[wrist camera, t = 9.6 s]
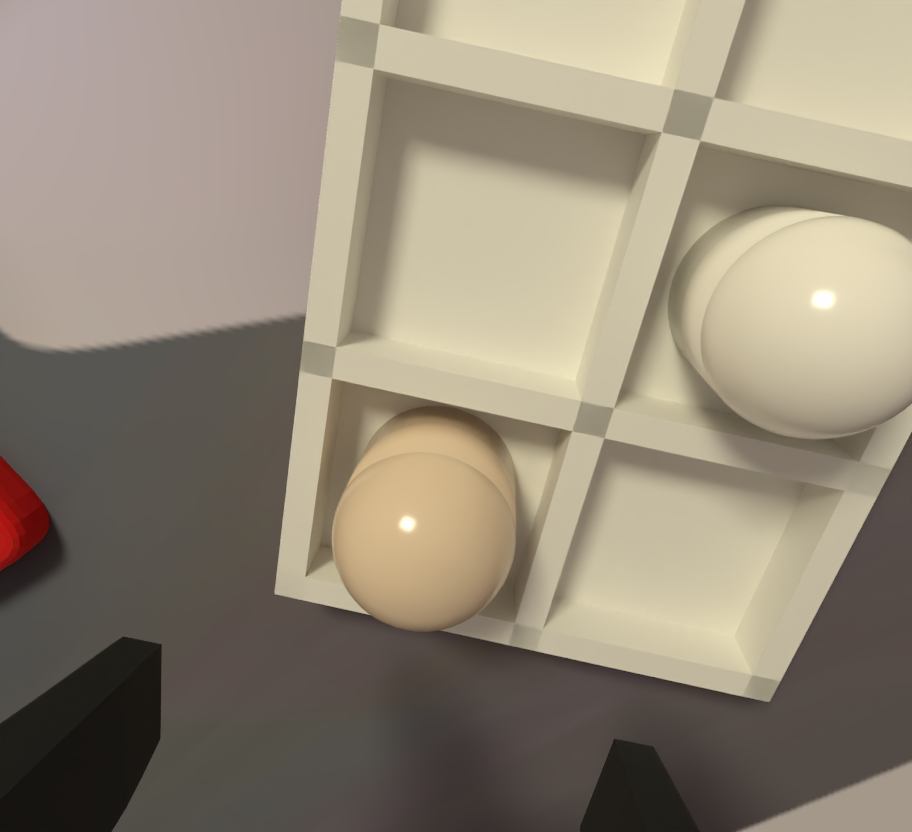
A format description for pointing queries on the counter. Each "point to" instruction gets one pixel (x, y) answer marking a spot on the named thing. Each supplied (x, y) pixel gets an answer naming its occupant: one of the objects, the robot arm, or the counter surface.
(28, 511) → the popsicle
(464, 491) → the egg
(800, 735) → the counter surface
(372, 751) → the counter surface
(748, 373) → the egg
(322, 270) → the egg box
